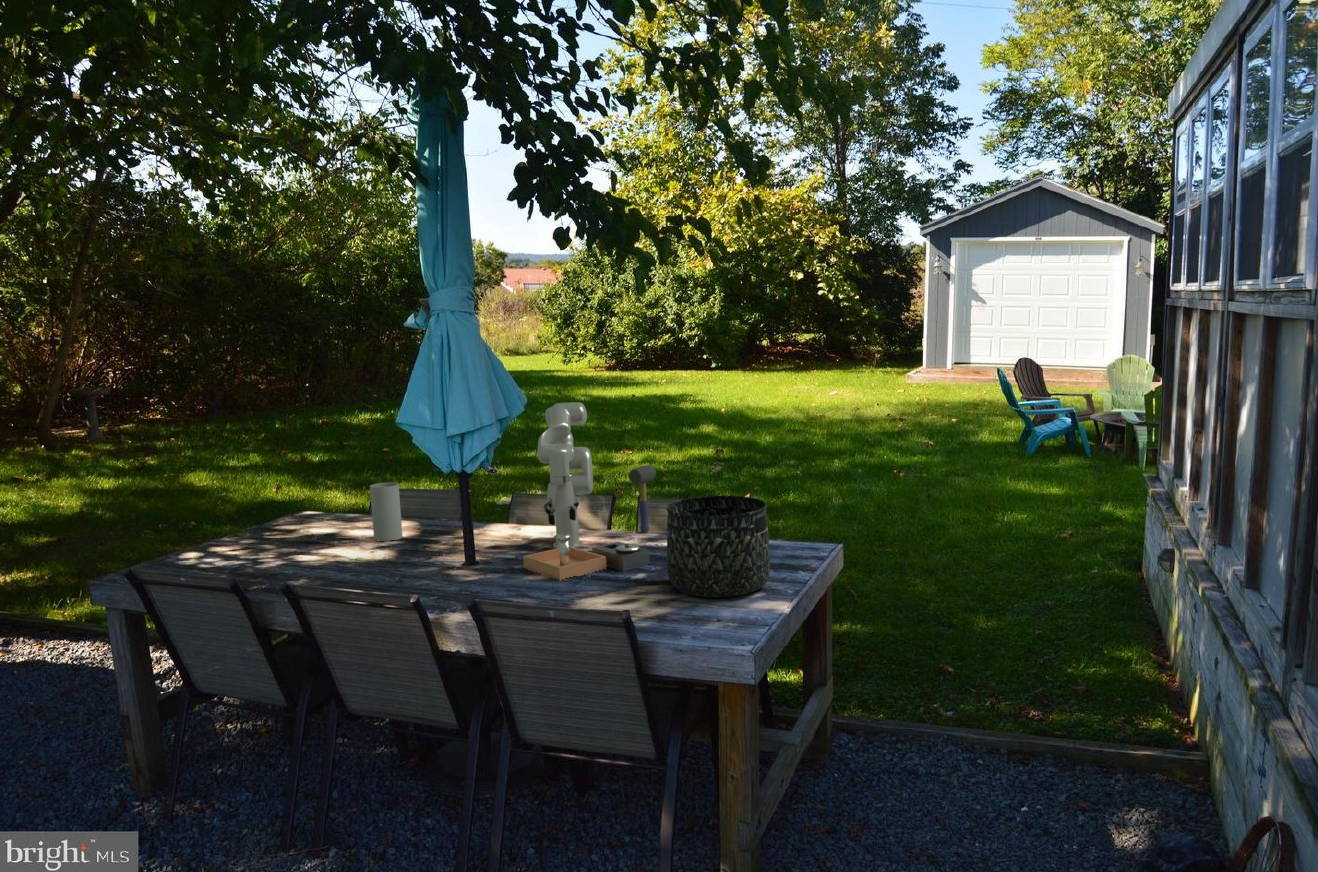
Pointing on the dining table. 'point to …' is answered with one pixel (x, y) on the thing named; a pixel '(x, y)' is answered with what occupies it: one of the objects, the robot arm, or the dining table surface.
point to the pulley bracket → (623, 555)
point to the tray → (579, 565)
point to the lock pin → (564, 549)
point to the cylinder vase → (386, 511)
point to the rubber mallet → (643, 490)
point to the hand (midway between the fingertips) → (562, 522)
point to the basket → (718, 545)
